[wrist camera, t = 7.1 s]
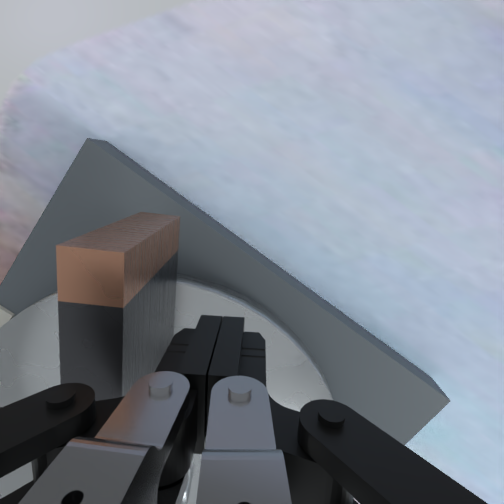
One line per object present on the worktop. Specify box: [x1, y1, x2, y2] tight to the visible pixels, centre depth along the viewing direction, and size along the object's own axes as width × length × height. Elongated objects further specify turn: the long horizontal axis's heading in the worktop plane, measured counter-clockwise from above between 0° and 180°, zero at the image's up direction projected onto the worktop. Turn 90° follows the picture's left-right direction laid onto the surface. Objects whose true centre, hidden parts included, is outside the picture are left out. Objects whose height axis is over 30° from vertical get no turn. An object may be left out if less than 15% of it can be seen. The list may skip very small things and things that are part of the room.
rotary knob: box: [0, 212, 333, 504], centre depth 14 cm, size 22×19×8 cm
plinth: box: [0, 138, 450, 445], centre depth 20 cm, size 22×22×2 cm
